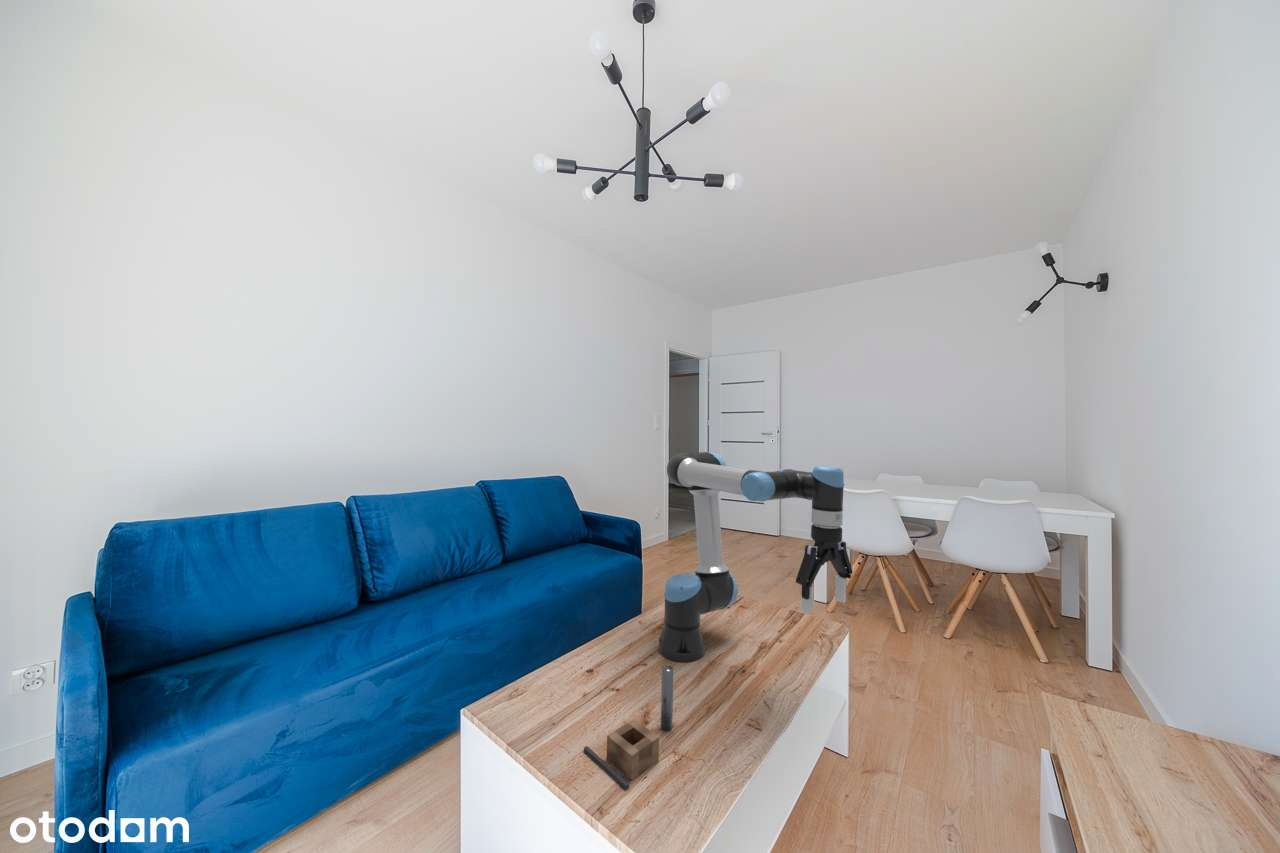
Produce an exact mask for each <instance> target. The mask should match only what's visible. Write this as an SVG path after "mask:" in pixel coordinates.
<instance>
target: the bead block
mask: <svg viewBox="0 0 1280 853" xmlns="http://www.w3.org/2000/svg"><path fill="white" fill-rule="evenodd" d="M659 754H660V737H659V735H657V734H655V733H654V732H652V731H651V730H650V729H649V728H648V727H646V726H644V725H643V724H642V723H641V722H639V721H638V720H637V719H634V718H633V719H631V720H630V721H628V722H627V723H625V724H623V725H622V726H620V727H618V728H616V729H615V730H613V731H612V732H610V733H608V734H607V735H606V759H607V760H608V761H609V762H610V763H611V764H612V765H613V766H615V767H616V769H618V770H619V771H620V772H621V773H623V775H625V776H626V777H627V778H628V779H629V781H633V780H634V779H635V778H637V777H638V776H639V775H641V774H642V773H644V772H645V771H647V770H648V769H649V768H650V767H652V766H654V764H656V763H657V762H658V761H659V759H660V756H659Z"/></svg>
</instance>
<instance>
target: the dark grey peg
mask: <svg viewBox="0 0 1280 853" xmlns="http://www.w3.org/2000/svg"><path fill="white" fill-rule="evenodd" d="M660 691H661V697H660V699H661V700H660V704H661V705H660V730H662V731H664V732H670V731H672V729H673V714H674V713H673V712H674V710H673V709H674V708H673V707H674V667H672V666H670V665H664V666H662V668H661V690H660Z"/></svg>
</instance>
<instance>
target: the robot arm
mask: <svg viewBox="0 0 1280 853" xmlns="http://www.w3.org/2000/svg"><path fill="white" fill-rule="evenodd" d="M666 474H667V475H666V476H667V477H668V479H669V480H670V482H671V483H672V484H675V486H679V487H686V488H688V491H689V493H690V494H691V495H692V497H693V505H694V516H695V517H694V518H695V529H696V543H697V544H696V546H697V556H698V558H697V559H698V565H697V566H696V568H695V569H694V572H695V574H694V573H678V574H675V575H672V576H670V577H669V578H668V579H667V580H666V583H665V586H664V594H663V595H664V616H663V617H664V624H663V628H662V630H661V633H660V637H659V640H658V652H659V653H660V654H661V655H662V656H663V657H664V658H666V659H667V660H672V661H676V662H679V663H680V662H681V663H682V662H684V663H687V662H694V661H697V660H699V659H701V658H703V657H704V655H705V651H706V645H705V641H704V639H703V635H702V631H701V615H704V614H705V615H706V614H708V613H711V612H715V611H720V610H725V609H726V608H728V607H730V606H732V605H733V604H734V603H735V601H736V600H737V597H738V583H737V580H736V579H735V577H734V575H733V573H731V572H730V569H729V567H728V566H727V565H726V564H725V563H724V554H723V553H724V550H723V538H722V529H721V527H722V526H721V515H720V505H719V493H720V492H724V493H728V494H734V495H738V496H743V497H745V498H746V499H747V500H748V501H751V502H766V501H772V500H773V501H774V500H783V499H793V498H796V499H804V500H808V501H811V519H810V522H811V523H812V524H811V526H810V527H811V528H810V529H811V530H810V538H811V539H812V540H813V541H814V543H813V546H811V545H808V544H807V545H805V546H804V555H803V558H802V560H801V563H800V567H799V570H798V572H797V574H796V575H797V576H796V579H795V583H796V584H799V585H801V602H802V603H801V610H803V611H805V612H808V613H810V614H812V613H814V586H812V585H813V584H814V581H815V579H816V577H817V575H818V573H819V571H820V570H821V567H822V566H824V565H825V563H828V562H830V564H831V565H832V567H833V568H834V569H835V571H836V573H837V575H835V582H834V583H835V586H834V600H835V601H838V602H840V603H843V604H845V603H846V602H847V600H846V599H847V598H846V597H847V582H848V581H847V580H848V579H851V578H852V574H853V568H852V564H851V562H850V558H849V555H848V554H849V553H848V551H847V543H846V541H843V528H842V527H841V526H843V510H844V509H843V508H844V507H843V504H844V488H845V487H844V486H845V483H844V482H845V481H844V471H843V469H842V468H840V467H837V466H832V465H831V466H827V465H816V466H814V467H813V469H812V471H810V472H809V471H802V470H795V469H792V468H789V469H787V468H786V469H785V468H784V469H783V468H782V469H781V468H780V469H777V471H762V470H753V469H748V468H747V469H746V468H741V467H736V466H735V467H734V466H727V464H726V462H725V461H724V459H723V458H722V457H721V456H720V455H719V454H718V453H715V452H708V451H704V452H703V451H702V452H701V451H700V452H679V453H677V454H675V455H673V456H672V457H671V458H670V459H669V460H668V462H667V466H666Z"/></svg>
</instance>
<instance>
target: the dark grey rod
mask: <svg viewBox="0 0 1280 853" xmlns="http://www.w3.org/2000/svg"><path fill="white" fill-rule="evenodd" d="M583 752H584V753H585V754H586V755H587V756H589V758H590V759H591V760H592V761H594V762H595V763H596V765H598V766H599V767H600V768H601V769H603V771H604V772H606V773H607V774H608V775H609V776H610V777H611V778H612V779H613V780H614V781H615V782H617V783H618V784H619V785H620V786H621V787H622V788H623V789H624V790H625V791H626V790H629V788H630V784H629V782H628V781H627V780H626V779H624V778H623V777H622V776H621V775H620V774H619V773H618V772H616V770H614V769H613V768H612V767H611V765H609V764H608V763H606V761H604V760H603V759H602V758H601V757H600V756H599V755H598V754H597V753H595V751H593V750H592V749H591V748H590V747H589V746H588V745H586V746H584V747H583Z"/></svg>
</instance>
